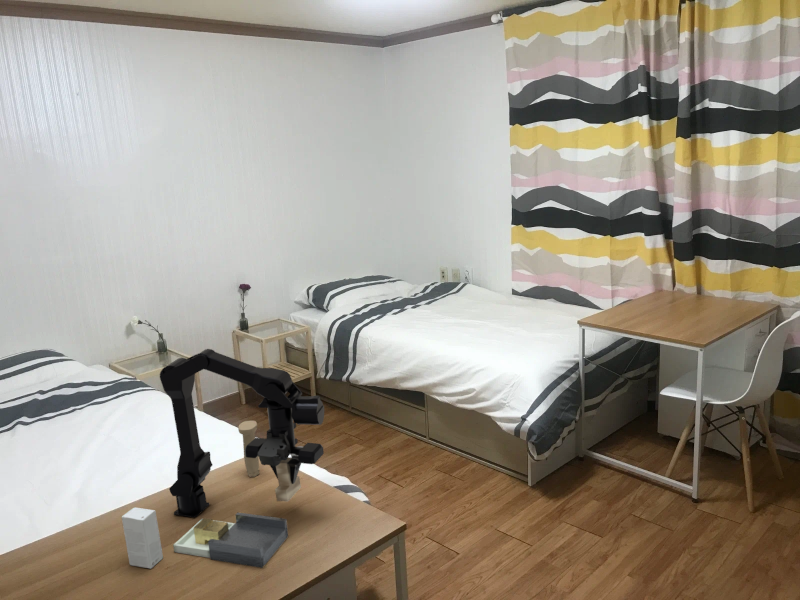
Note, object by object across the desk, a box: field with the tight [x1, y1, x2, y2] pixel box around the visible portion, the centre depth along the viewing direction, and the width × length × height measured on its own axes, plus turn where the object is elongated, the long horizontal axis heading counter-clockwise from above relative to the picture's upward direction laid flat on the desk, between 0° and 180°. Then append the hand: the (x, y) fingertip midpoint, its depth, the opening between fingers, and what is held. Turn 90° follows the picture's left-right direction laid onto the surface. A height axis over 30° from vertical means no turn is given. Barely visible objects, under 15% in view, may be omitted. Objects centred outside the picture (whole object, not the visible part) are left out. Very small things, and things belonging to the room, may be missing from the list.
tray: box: [173, 518, 236, 559], centre depth 148 cm, size 10×11×2 cm
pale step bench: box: [274, 456, 302, 502], centre depth 155 cm, size 3×7×9 cm, turn 162°
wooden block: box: [194, 518, 214, 545], centre depth 147 cm, size 4×4×2 cm
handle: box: [238, 420, 260, 478], centre depth 177 cm, size 5×6×15 cm
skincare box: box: [121, 507, 164, 570], centre depth 140 cm, size 6×4×12 cm
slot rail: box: [208, 512, 289, 569], centre depth 144 cm, size 13×12×4 cm
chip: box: [203, 520, 229, 541], centre depth 146 cm, size 4×4×2 cm
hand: (287, 482), depth 155 cm, fingers closed on pale step bench, 3 cm apart
